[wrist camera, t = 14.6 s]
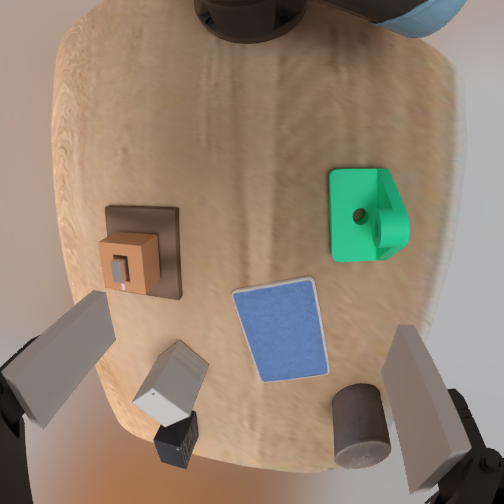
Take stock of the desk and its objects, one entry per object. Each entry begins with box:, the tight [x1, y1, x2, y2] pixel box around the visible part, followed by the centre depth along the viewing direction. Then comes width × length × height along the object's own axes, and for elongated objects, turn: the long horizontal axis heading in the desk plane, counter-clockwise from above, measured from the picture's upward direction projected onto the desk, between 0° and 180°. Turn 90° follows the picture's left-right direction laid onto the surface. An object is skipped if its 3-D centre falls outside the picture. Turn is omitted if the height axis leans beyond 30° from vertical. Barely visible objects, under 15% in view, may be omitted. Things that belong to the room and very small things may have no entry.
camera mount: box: [329, 168, 410, 262], centre depth 33 cm, size 12×8×10 cm, turn 5°
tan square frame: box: [99, 232, 161, 295], centre depth 39 cm, size 7×7×5 cm
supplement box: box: [132, 340, 209, 427], centre depth 45 cm, size 7×7×13 cm
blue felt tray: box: [231, 276, 330, 382], centre depth 45 cm, size 19×13×1 cm, turn 15°
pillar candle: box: [332, 384, 391, 469], centre depth 42 cm, size 10×10×15 cm
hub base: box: [105, 205, 182, 300], centre depth 40 cm, size 14×12×8 cm
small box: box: [154, 411, 198, 469], centre depth 53 cm, size 11×6×10 cm, turn 176°
